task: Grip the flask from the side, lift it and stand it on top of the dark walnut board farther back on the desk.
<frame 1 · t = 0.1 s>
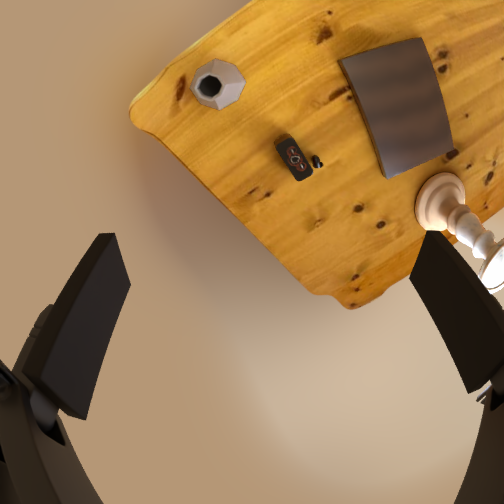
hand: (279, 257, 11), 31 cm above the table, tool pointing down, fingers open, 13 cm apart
flask: (217, 84, 33), on the table
walnut board: (403, 105, 34), on the table
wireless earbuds: (297, 154, 39), on the table
candle holder: (439, 201, 44), on the table
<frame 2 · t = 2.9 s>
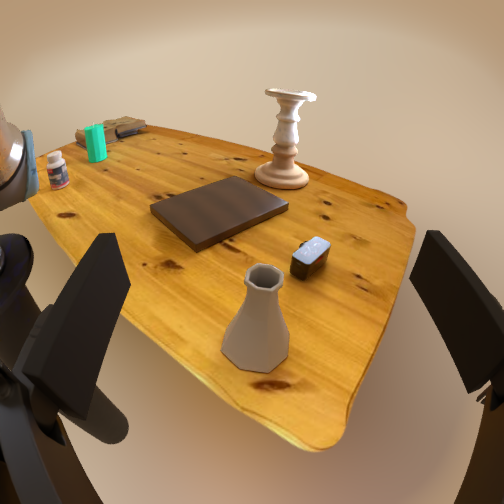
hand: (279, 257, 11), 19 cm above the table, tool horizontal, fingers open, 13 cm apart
pill bottle: (60, 186, 58), on the table
book: (110, 138, 90), on the table
flask: (255, 345, 29), on the table
walnut board: (219, 210, 50), on the table
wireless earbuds: (306, 263, 40), on the table
candle: (98, 159, 71), on the table
candle holder: (281, 178, 63), on the table
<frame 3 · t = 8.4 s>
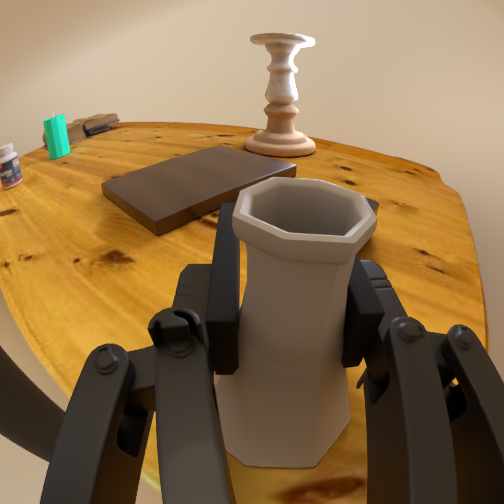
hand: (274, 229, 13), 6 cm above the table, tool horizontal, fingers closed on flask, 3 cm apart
pill bottle: (13, 185, 41), on the table
book: (80, 137, 75), on the table
flask: (276, 403, 12), on the table, touching gripper
walnut board: (197, 182, 33), on the table
candle: (60, 155, 56), on the table
candle holder: (280, 148, 47), on the table
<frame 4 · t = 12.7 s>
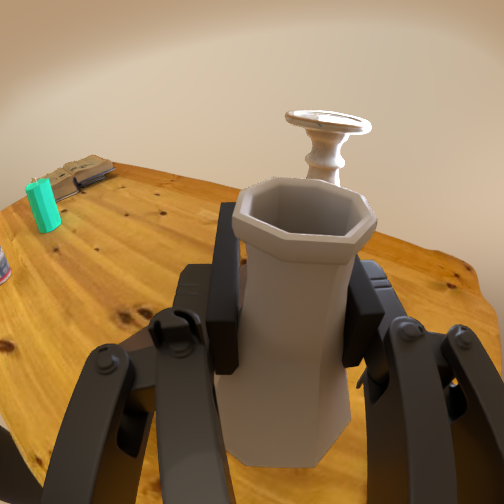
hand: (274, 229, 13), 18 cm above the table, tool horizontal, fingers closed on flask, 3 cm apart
pill bottle: (2, 278, 35), on the table
book: (72, 187, 69), on the table
flask: (276, 403, 12), point 12 cm above the table, touching gripper
walnut board: (229, 348, 28), on the table
candle: (50, 226, 50), on the table
candle holder: (313, 254, 42), on the table
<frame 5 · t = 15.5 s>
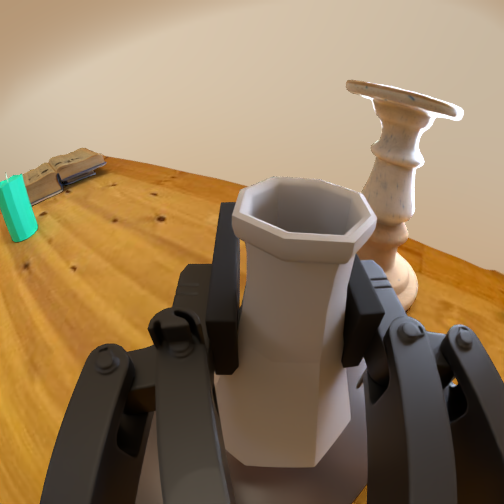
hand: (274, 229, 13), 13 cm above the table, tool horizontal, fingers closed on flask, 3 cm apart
book: (57, 185, 57), on the table
flask: (276, 403, 12), point 7 cm above the table, touching gripper
walnut board: (267, 439, 16), on the table
candle: (25, 233, 38), on the table
candle holder: (365, 280, 30), on the table
when the fingers open (7 cm above the table, at t = 17.3 s): flask stays where it is, resting on walnut board.
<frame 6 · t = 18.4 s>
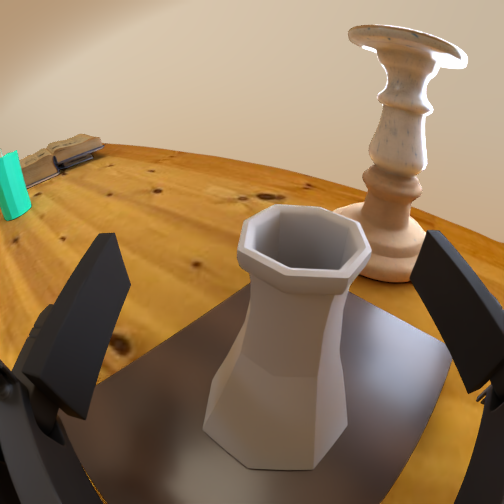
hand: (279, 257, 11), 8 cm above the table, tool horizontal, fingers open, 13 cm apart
book: (54, 169, 54), on the table
flask: (277, 409, 12), point 1 cm above the table, touching walnut board
walnut board: (274, 417, 13), on the table
candle: (18, 212, 35), on the table
candle holder: (377, 245, 27), on the table
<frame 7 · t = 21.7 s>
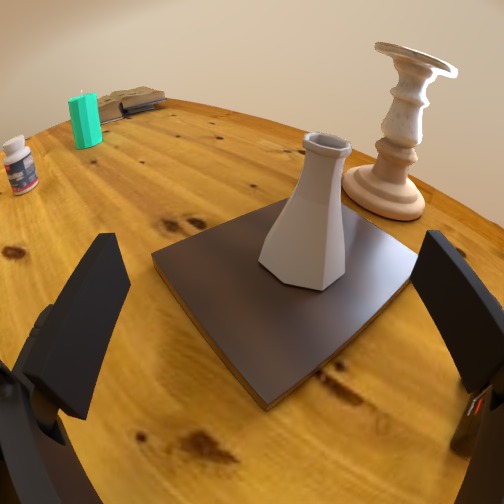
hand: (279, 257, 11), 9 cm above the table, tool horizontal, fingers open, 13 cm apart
pill bottle: (26, 188, 34), on the table
book: (117, 114, 65), on the table
flask: (303, 259, 23), point 1 cm above the table, touching walnut board
walnut board: (299, 270, 24), on the table
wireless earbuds: (467, 410, 14), on the table
candle: (89, 144, 47), on the table
candle holder: (382, 196, 35), on the table
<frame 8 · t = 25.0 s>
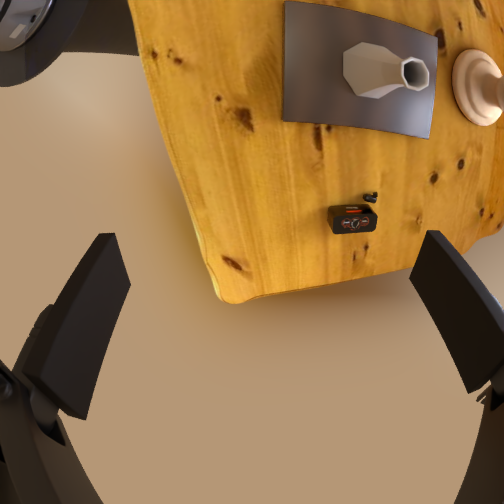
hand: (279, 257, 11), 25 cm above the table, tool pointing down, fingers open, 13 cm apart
flask: (369, 70, 25), point 1 cm above the table, touching walnut board
walnut board: (364, 69, 26), on the table
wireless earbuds: (352, 206, 37), on the table
candle holder: (477, 86, 25), on the table
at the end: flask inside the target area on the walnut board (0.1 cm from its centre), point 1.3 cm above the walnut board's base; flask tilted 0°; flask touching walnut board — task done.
